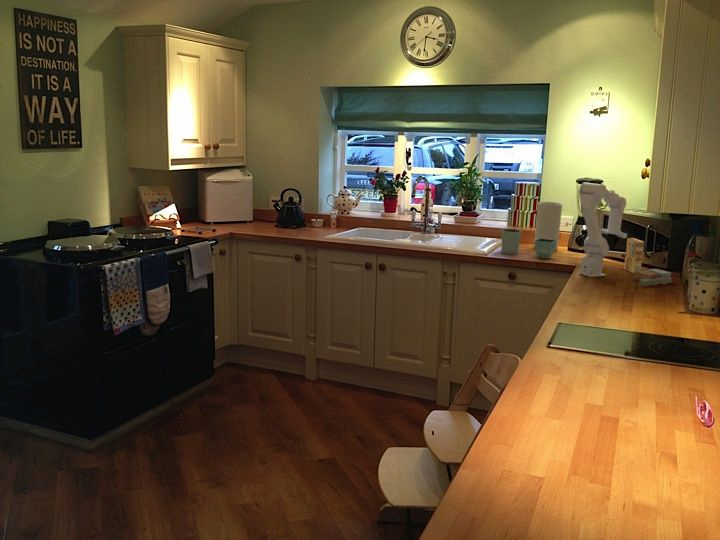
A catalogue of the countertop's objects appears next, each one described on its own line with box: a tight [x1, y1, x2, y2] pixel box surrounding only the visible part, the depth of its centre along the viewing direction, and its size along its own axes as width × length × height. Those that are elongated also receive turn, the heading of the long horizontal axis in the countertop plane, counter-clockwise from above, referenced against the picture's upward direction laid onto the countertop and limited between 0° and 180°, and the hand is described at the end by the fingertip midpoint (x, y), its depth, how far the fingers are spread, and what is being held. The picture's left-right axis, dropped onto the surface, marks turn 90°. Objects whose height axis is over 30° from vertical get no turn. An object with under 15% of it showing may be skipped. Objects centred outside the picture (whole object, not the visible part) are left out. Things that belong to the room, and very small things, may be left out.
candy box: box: [623, 237, 645, 274], centre depth 332 cm, size 9×4×15 cm, turn 8°
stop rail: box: [638, 277, 674, 287], centre depth 308 cm, size 18×2×2 cm, turn 117°
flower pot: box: [534, 238, 556, 259], centre depth 356 cm, size 9×9×9 cm
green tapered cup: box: [501, 228, 522, 255], centre depth 364 cm, size 10×10×12 cm
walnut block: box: [633, 269, 659, 282], centre depth 312 cm, size 6×8×4 cm
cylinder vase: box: [533, 201, 563, 252], centre depth 377 cm, size 12×12×25 cm
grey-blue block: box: [646, 268, 672, 278], centre depth 316 cm, size 6×8×4 cm
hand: (611, 250), depth 330 cm, fingers closed
